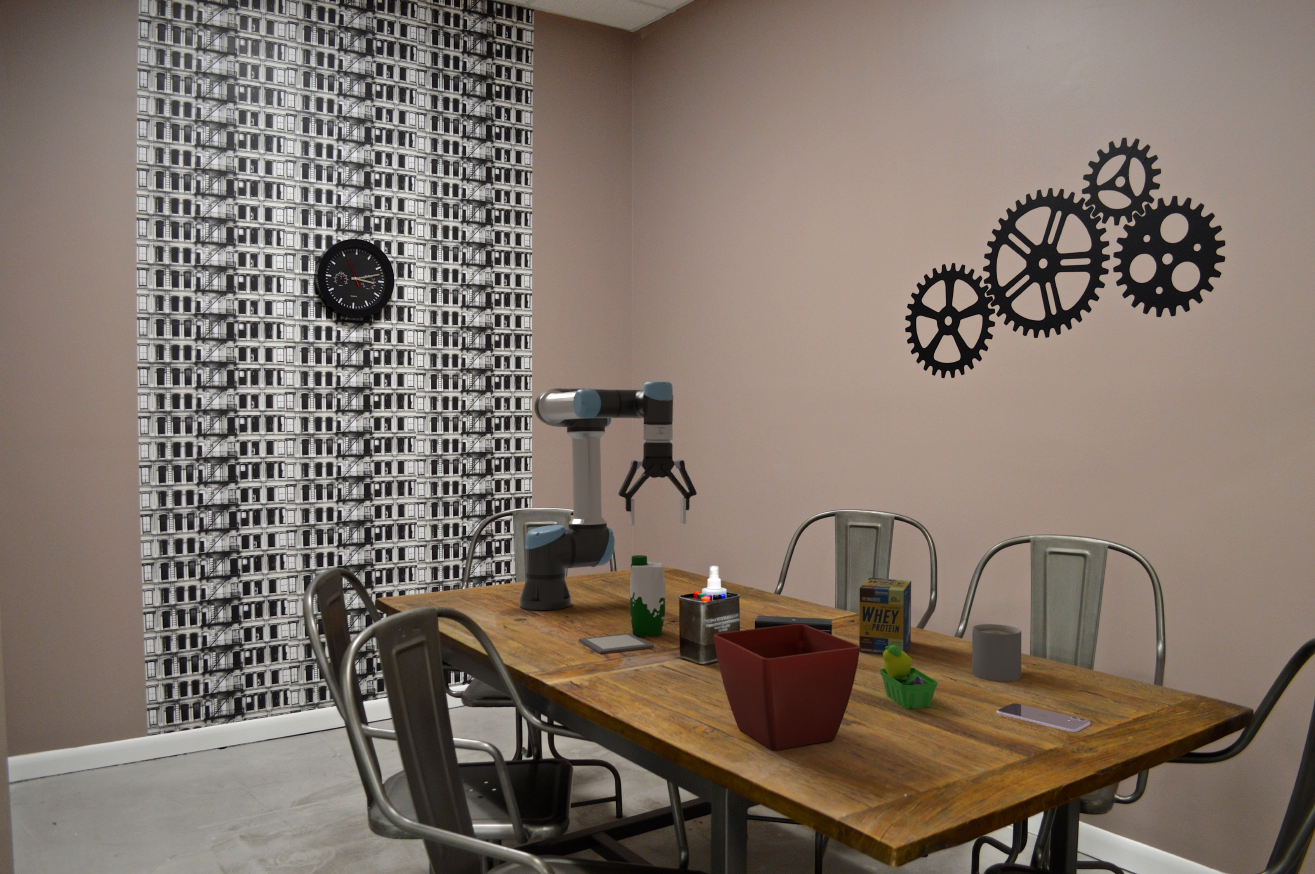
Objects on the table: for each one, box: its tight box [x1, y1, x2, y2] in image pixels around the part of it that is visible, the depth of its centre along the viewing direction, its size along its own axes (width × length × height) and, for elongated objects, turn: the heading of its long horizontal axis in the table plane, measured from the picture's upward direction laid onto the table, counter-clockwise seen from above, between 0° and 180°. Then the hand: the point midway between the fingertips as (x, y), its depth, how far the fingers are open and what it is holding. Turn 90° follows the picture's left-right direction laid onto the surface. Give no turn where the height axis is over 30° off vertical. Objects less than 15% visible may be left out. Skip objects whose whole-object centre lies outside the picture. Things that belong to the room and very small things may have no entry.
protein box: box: [858, 577, 912, 655], centre depth 224 cm, size 10×15×16 cm
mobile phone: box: [996, 703, 1091, 733], centre depth 171 cm, size 8×1×15 cm
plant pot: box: [713, 623, 861, 751], centre depth 161 cm, size 19×19×17 cm
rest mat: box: [578, 633, 654, 655], centre depth 227 cm, size 14×14×1 cm
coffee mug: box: [971, 623, 1022, 683], centre depth 200 cm, size 13×10×10 cm
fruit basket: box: [879, 645, 938, 709], centre depth 181 cm, size 11×9×11 cm
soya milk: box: [629, 554, 666, 638], centre depth 238 cm, size 9×9×20 cm
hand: (657, 523), depth 238 cm, fingers open, 13 cm apart
